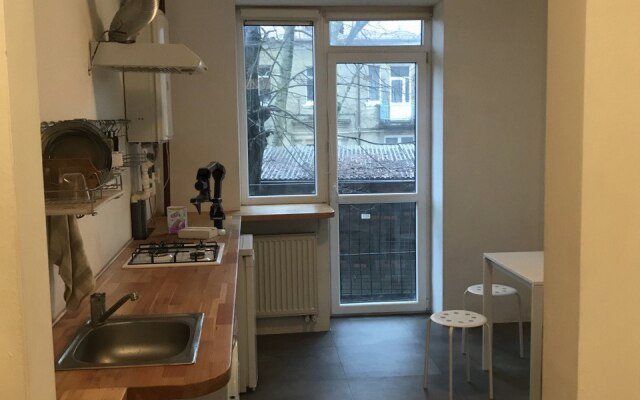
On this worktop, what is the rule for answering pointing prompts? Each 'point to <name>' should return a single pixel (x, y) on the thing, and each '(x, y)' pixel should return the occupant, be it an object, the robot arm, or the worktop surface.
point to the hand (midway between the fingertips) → (206, 214)
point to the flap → (200, 228)
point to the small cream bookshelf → (197, 233)
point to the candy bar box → (176, 219)
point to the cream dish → (221, 231)
